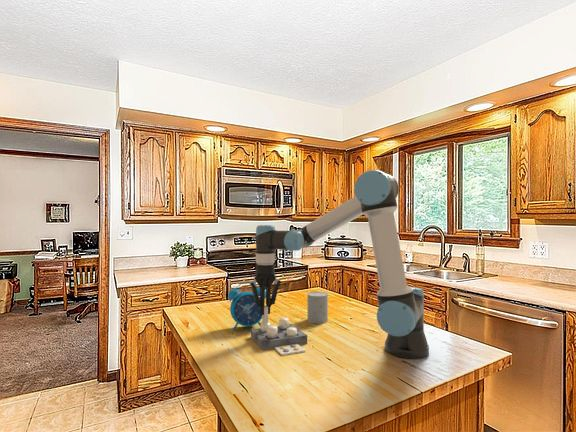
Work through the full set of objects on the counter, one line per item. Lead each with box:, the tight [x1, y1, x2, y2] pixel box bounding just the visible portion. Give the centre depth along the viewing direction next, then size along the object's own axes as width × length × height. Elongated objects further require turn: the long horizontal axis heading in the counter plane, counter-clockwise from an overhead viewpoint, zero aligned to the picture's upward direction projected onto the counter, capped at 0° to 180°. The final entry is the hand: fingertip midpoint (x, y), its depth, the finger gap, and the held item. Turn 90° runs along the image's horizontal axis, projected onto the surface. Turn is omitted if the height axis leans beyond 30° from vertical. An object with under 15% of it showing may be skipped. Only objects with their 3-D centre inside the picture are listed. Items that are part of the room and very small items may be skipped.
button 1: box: [259, 321, 271, 333], centre depth 141 cm, size 4×4×4 cm
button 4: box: [287, 327, 298, 337], centre depth 136 cm, size 4×4×4 cm
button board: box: [250, 323, 308, 351], centre depth 138 cm, size 15×18×3 cm
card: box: [274, 344, 306, 357], centre depth 128 cm, size 7×9×1 cm
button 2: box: [267, 325, 278, 338], centre depth 133 cm, size 4×4×4 cm
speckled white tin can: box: [306, 291, 329, 324], centre depth 164 cm, size 10×10×12 cm
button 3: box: [278, 317, 290, 329], centre depth 144 cm, size 4×4×4 cm
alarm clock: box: [227, 280, 266, 332], centre depth 153 cm, size 17×10×20 cm, turn 104°
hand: (265, 322), depth 141 cm, fingers closed
